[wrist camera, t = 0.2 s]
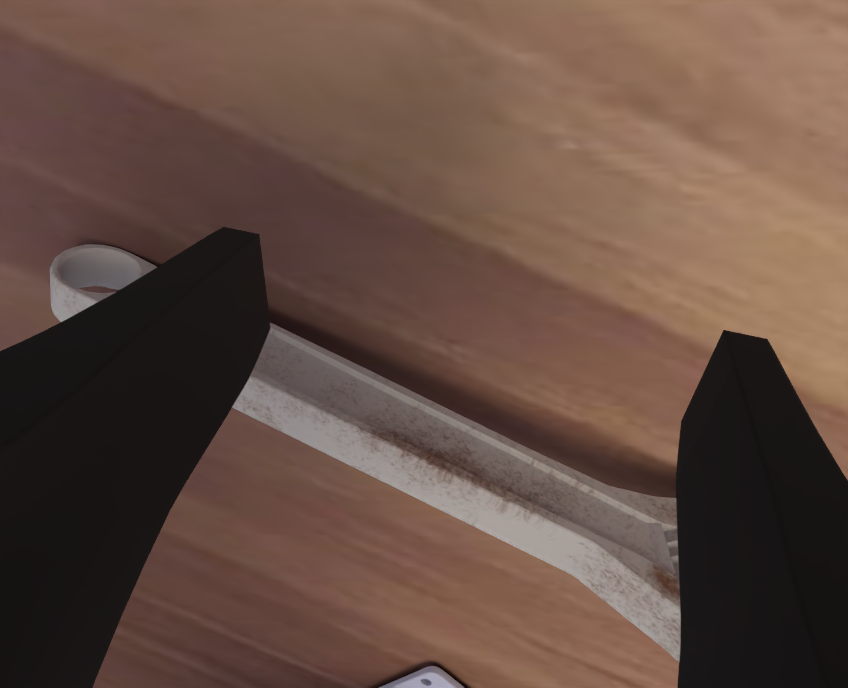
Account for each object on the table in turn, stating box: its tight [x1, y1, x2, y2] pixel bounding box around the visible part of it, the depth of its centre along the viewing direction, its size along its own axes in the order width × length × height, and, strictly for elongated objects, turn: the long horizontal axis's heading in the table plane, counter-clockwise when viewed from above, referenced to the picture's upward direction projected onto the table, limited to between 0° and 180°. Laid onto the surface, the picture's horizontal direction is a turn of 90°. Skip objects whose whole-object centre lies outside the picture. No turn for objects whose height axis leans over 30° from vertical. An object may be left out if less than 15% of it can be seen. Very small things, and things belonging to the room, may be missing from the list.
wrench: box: [50, 244, 681, 662], centre depth 24 cm, size 8×2×30 cm
